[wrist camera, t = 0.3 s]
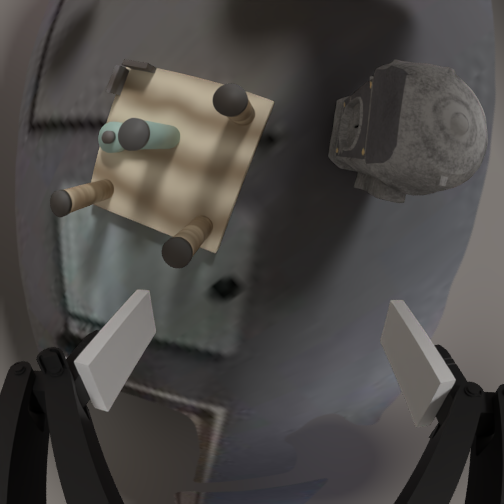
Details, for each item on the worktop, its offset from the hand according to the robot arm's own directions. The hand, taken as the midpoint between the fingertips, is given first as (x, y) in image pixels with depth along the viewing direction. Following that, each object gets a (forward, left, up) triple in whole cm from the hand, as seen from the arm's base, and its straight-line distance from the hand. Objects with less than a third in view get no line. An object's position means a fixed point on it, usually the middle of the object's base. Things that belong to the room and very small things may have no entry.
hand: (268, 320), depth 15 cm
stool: (-3, -17, -28) cm, 32 cm away
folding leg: (-4, -21, -25) cm, 33 cm away
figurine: (-15, +7, -28) cm, 32 cm away
